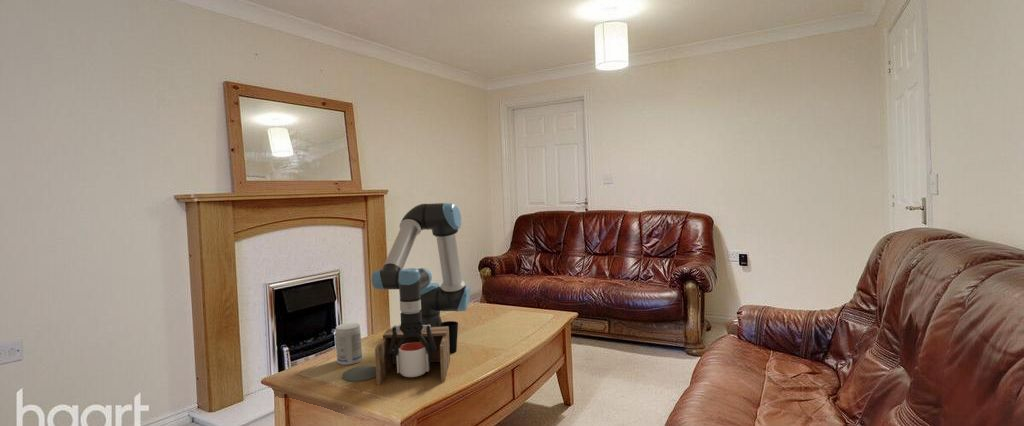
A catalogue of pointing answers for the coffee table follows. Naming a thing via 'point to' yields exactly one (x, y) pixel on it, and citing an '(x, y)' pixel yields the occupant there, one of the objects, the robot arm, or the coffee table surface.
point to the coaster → (360, 373)
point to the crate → (386, 359)
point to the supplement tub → (348, 343)
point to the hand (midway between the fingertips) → (413, 370)
